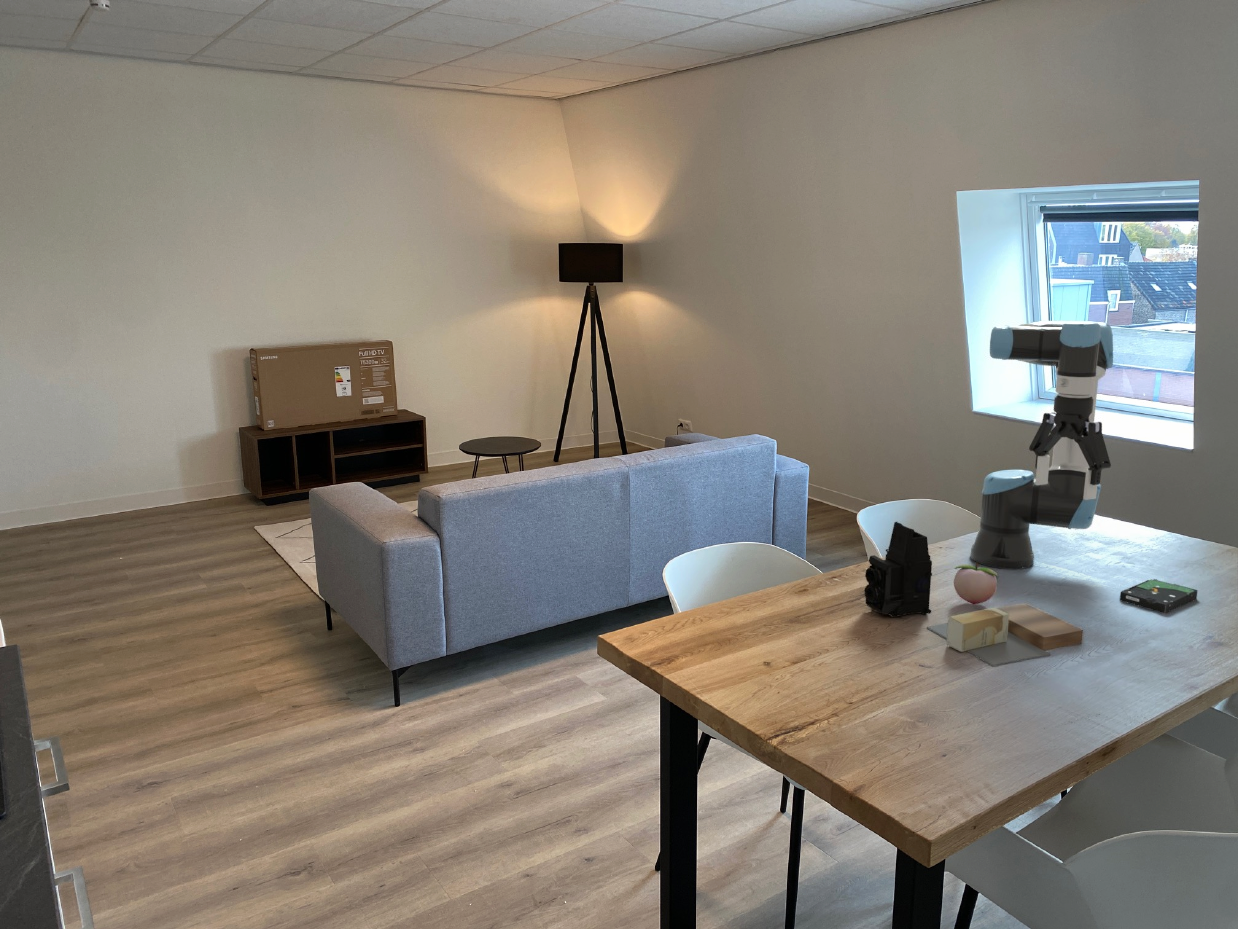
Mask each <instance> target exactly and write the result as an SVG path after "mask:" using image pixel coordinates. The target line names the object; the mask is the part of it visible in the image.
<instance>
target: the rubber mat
mask: <svg viewBox="0 0 1238 929" xmlns="http://www.w3.org/2000/svg"><path fill="white" fill-rule="evenodd" d="M926 628H927V630H929V631H931V632H933V633H935V634H937V635H938V636H940V637H942V638H943V639H945V640H947V629H948V622H947V623H940V624H935V625H930V626H929V625H928V626H926ZM966 652H968V653H970V654H971V655H973V656H975V657H976V658H978V659H980V660H982V661H983V662H984V663H987V664H988V665H990V666H992V667H996V666H1002V665H1005V664H1006V665H1007V664H1011V663H1016V662H1017V663H1018V662H1022V661H1027V660H1033V659H1037V658H1043V657H1044V658H1045V657H1048V656H1051V653H1050V652H1048V651H1044V650H1042V649H1040V648H1038V647H1036V646H1035V645H1033V644H1031V643H1029V642H1027V641H1025V640H1023V639H1021V638H1019V637H1017V636H1015V635H1013V634H1011V633H1010V632H1008V634H1007V641H1006V642H1002V643H998V644H994V645H989V646H985V647H980V648H976V649H971V650H967V651H966Z"/></svg>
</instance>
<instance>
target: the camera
mask: <svg viewBox="0 0 1238 929" xmlns="http://www.w3.org/2000/svg"><path fill="white" fill-rule="evenodd" d="M928 544H929V543H928V537H927V536H926V535H923V534H922V533H919V532H918V531H917V532H916V531H915V529H912V528H911V527H907V526H905V525H903V524H902V523H901V522H898V521H894V523H893V527H892V533H891V538H890V541H889V546H888V548H887V549H885V552H886V554H885V559H882V558H880V557H879V556H876V555H875V554H874V555H870V556H869V559H868V562H869V567H867V568H866V570H865V576H864V577H865V580H866V582H867V583H868V584H866V586H865V588H864V596H865V605H866V606H867V607H868V608H870V609H872V610H873V611H874V612H875V611H876V613H879V614H881V615H885V614H887V615H889V616H890V617H892V618H895V617H899V616H900V617H903V616H905V615H909V614H916V613H921V614H923V615H924V616H926V615H927V614H928V615H929V614H931V613H932V610H931V609H930V596H931V583H932V582H931V581H932V576H933V573H932V568H933V561H932V560H931V555H930V554H929V545H928Z"/></svg>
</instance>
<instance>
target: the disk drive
mask: <svg viewBox="0 0 1238 929" xmlns="http://www.w3.org/2000/svg"><path fill="white" fill-rule="evenodd" d="M1197 598H1198V590H1197V589H1194V588H1190V587H1188V586H1183V585H1179V584H1176V583H1169V582H1166V581H1161V580H1158V579H1157V578H1153V579H1147V580H1145V581H1142V582H1141V583H1140V582H1139V583H1138V584H1136V585H1134V586H1131V587H1129V588H1128V587H1127V588H1126V589H1124V590H1122V591H1120V596H1119V601H1120V600H1122V601H1121V602H1124V603H1127V602H1128V604H1131V605H1134V604H1135V606H1137V605H1139V606H1138V607H1141V608H1145V609H1148V610H1152V611H1155V612H1159V613H1161V614H1168V613H1170V612H1172V611H1174V610H1176V609H1179V608H1180V607H1183V606H1185V605H1187V604H1189V603H1192V602H1194V601H1196V600H1197ZM1195 599H1196V600H1195ZM1193 600H1194V601H1193Z"/></svg>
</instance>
